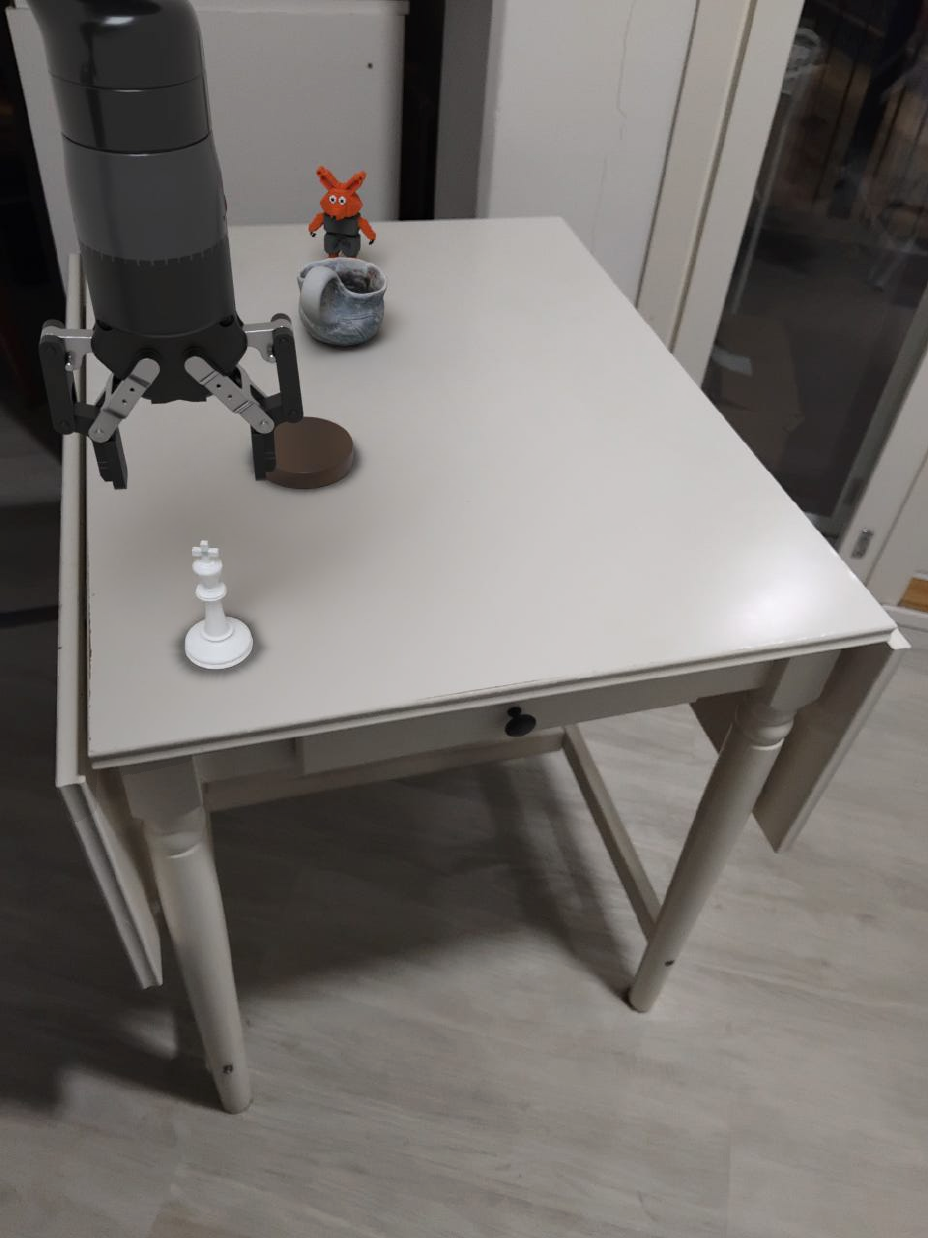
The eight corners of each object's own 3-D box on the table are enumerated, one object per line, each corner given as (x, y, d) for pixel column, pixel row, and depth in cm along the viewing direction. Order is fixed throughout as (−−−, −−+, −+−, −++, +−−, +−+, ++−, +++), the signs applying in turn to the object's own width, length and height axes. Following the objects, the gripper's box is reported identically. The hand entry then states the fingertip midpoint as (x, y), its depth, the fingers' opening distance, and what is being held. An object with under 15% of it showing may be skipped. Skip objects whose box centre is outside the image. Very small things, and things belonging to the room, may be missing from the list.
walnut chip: (273, 497, 83) (272, 481, 82) (242, 443, 89) (240, 426, 88) (368, 476, 87) (368, 460, 86) (332, 424, 92) (331, 408, 91)
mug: (394, 323, 108) (397, 236, 101) (369, 379, 99) (370, 287, 92) (312, 310, 108) (309, 223, 101) (279, 365, 99) (273, 273, 92)
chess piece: (246, 671, 69) (234, 569, 62) (178, 667, 69) (158, 564, 62) (258, 624, 72) (247, 522, 65) (193, 619, 72) (175, 517, 65)
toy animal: (302, 282, 113) (297, 178, 105) (313, 263, 117) (309, 161, 109) (368, 291, 113) (368, 187, 104) (376, 271, 117) (378, 170, 108)
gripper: (-6, 256, 45) (69, 523, 56) (298, 251, 48) (311, 506, 59) (12, 194, 50) (78, 450, 61) (286, 192, 53) (300, 438, 64)
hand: (192, 477), depth 60 cm, fingers open, 8 cm apart
